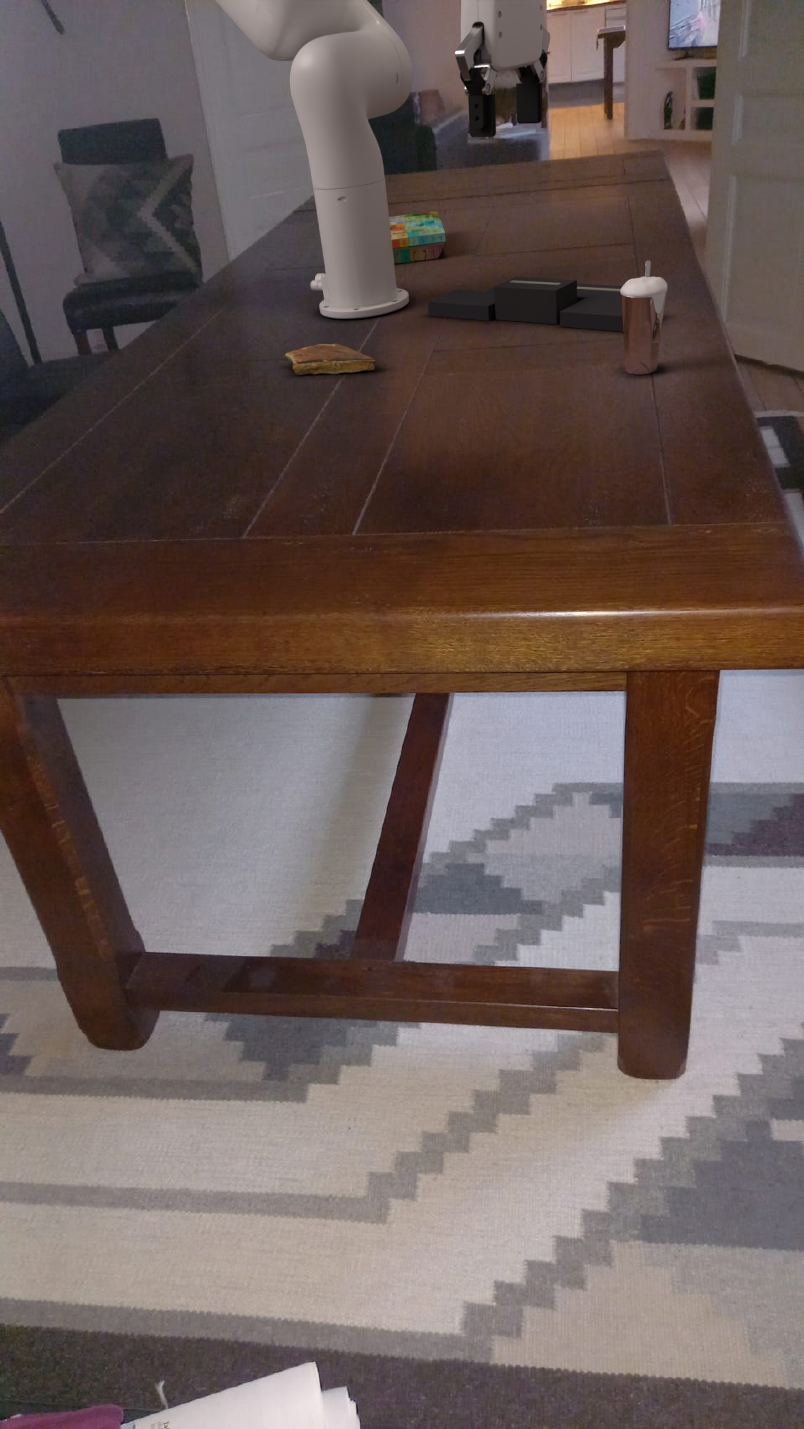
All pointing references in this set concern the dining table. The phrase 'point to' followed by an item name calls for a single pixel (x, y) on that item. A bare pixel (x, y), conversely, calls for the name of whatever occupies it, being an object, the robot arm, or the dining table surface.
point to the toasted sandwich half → (329, 360)
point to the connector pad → (534, 299)
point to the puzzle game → (417, 237)
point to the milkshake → (642, 321)
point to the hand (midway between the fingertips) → (506, 129)
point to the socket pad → (590, 312)
